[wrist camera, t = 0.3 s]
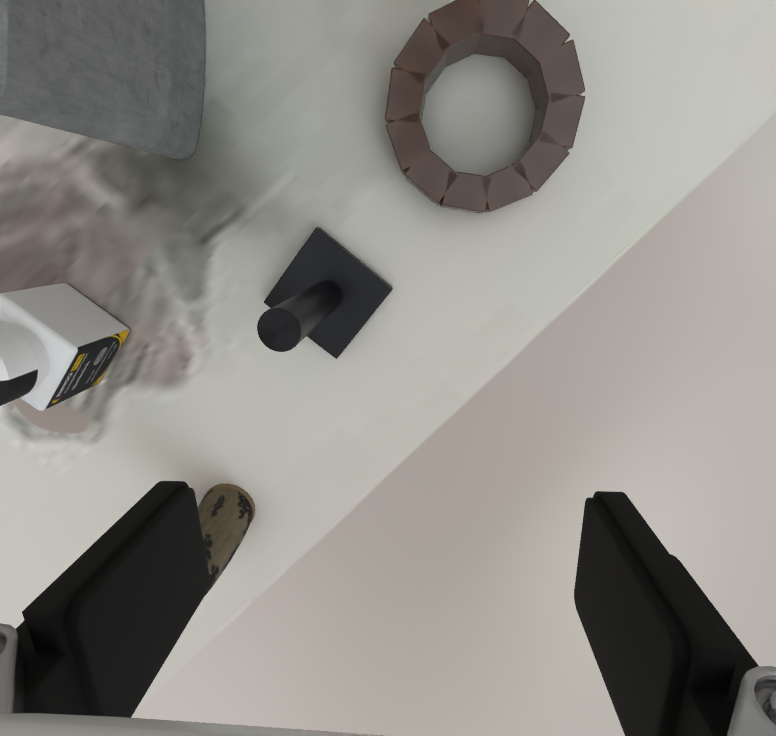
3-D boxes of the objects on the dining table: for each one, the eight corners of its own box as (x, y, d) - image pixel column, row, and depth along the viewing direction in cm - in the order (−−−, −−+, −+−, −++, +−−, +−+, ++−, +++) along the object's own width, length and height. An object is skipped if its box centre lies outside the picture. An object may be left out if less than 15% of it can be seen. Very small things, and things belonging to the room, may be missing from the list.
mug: (262, 495, 46) (208, 583, 35) (249, 536, 48) (194, 633, 37) (189, 469, 46) (110, 549, 35) (179, 511, 48) (101, 601, 37)
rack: (319, 226, 38) (259, 229, 24) (393, 287, 39) (374, 321, 25) (267, 300, 40) (187, 339, 27) (338, 356, 41) (295, 419, 28)
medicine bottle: (99, 384, 44) (-15, 440, 33) (35, 339, 43) (-106, 381, 32) (132, 329, 42) (22, 368, 31) (65, 280, 41) (-74, 302, 30)
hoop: (470, -29, 32) (475, -59, 28) (605, 101, 33) (625, 87, 30) (357, 136, 35) (349, 127, 32) (483, 245, 37) (488, 248, 34)
